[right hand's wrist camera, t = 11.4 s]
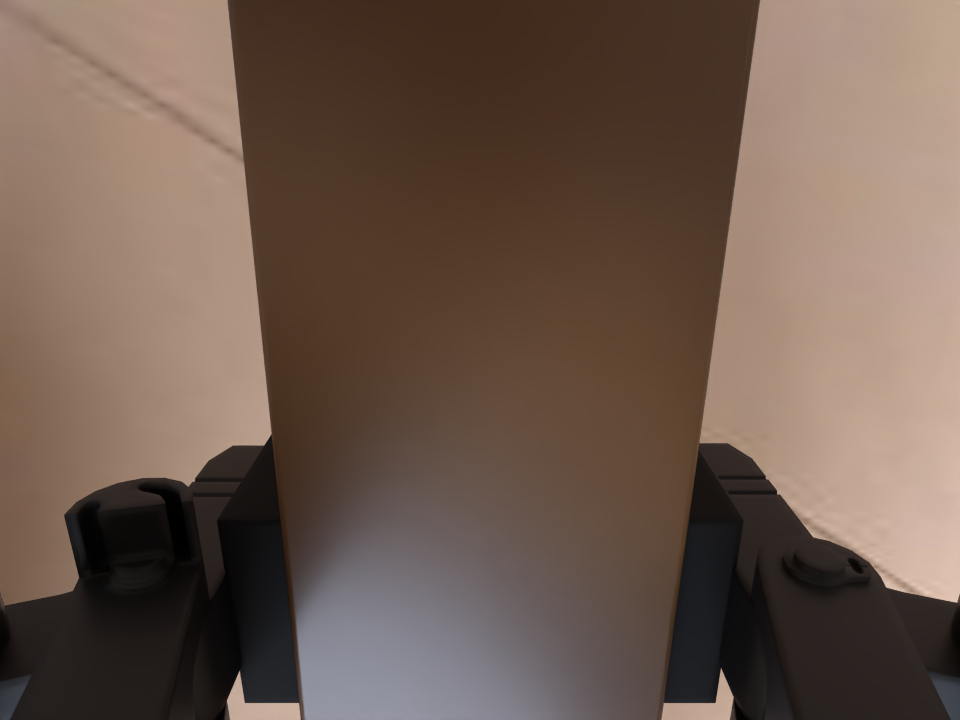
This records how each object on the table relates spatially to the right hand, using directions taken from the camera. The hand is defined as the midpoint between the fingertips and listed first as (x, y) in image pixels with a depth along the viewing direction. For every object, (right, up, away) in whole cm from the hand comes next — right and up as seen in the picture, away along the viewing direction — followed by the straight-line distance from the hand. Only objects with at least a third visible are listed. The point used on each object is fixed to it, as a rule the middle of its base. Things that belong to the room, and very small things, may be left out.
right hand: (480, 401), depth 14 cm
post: (0, -21, +8) cm, 22 cm away
